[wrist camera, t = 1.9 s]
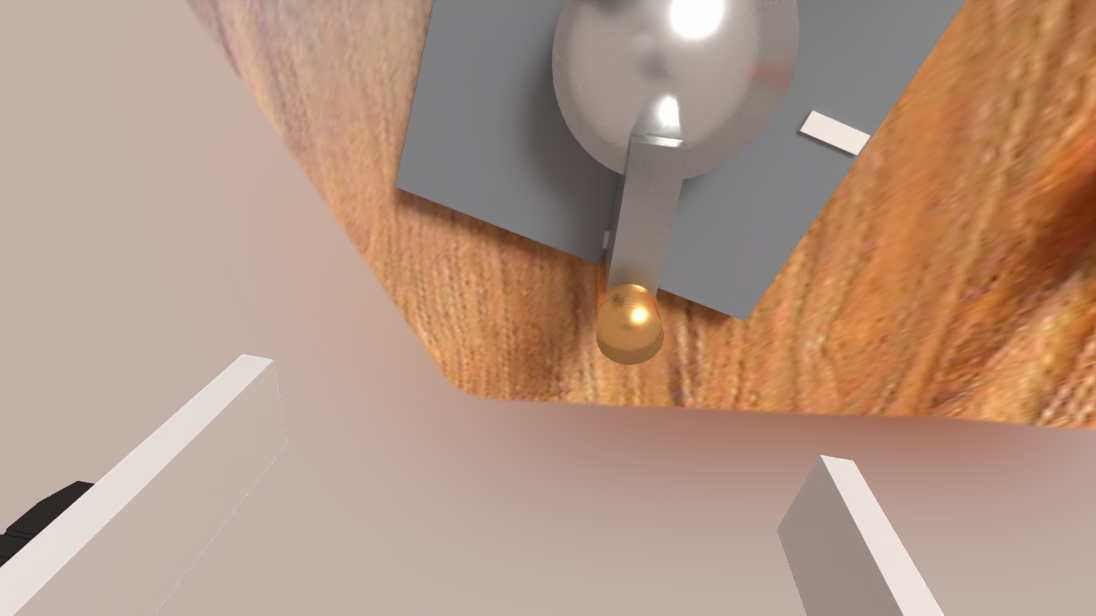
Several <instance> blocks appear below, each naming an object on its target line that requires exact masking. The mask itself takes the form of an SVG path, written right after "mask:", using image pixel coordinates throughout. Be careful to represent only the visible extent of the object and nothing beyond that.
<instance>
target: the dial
mask: <svg viewBox="0 0 1096 616" xmlns="http://www.w3.org/2000/svg"><path fill="white" fill-rule="evenodd" d="M798 44H799V16H798V8H797V2H796V0H565V2H564V4H563V7H562V10H561V12H560V15H559V19H558V22H557V26H556V30H555V35H554V42H553V49H552V73H553V84H554V88H555V93H556V98H557V101H558V104H559V107H560V110H561V113H562V115H563V117H564V119H565V121H566V124H567V126H568V128H569V129H570V131H571V132H572V134H573V135H574V137H575V138H576V140H577V141H578V142H579V143H580V145H581V146H582V147H583V148H584V149H585V150H586V151H587V152H588V153H589V154H590V155H591V156H592V157H593V158H595V159H596V160H597V161H598V162H600V163H601V164H603V165H604V166H606V167H607V168H609V169H611V170H613V171H615V172H617V173H619V176H618V182H617V188H616V194H615V200H614V206H613V212H612V218H611V224H610V230H609V236H608V242H607V248H606V254H605V255H604V256H603V257H602V259H601V260H600V263H599V266H598V291H597V343H598V346H599V348H600V350H601V352H602V353H603V354H604V355H605V356H606V357H607V358H609V359H610V360H612V361H614V362H617V363H620V364H627V365H633V364H639V363H642V362H645V361H647V360H649V359H651V358H652V357H653V356H655V355H656V354H657V352H658V351H659V350H660V348H661V346H662V344H663V339H664V333H663V328H662V323H661V318H660V313H659V308H658V303H657V298H656V294H657V290H658V285H659V281H660V277H661V272H662V268H663V264H664V259H665V255H666V251H667V246H668V242H669V238H670V233H671V229H672V225H673V220H674V216H675V212H676V208H677V203H678V199H679V195H680V190H681V186H682V182H683V179H688V178H692V177H695V176H698V175H701V174H704V173H707V172H709V171H711V170H713V169H715V168H717V167H719V166H721V165H723V164H724V163H726V162H727V161H729V160H731V159H732V158H734V157H735V156H736V155H737V154H739V153H740V152H741V151H743V150H744V149H745V148H746V147H747V146H748V145H749V144H750V143H751V142H752V141H753V140H754V139H755V138H756V137H757V136H758V135H759V134H760V133H761V131H762V130H763V129H764V128H765V127H766V125H767V124H768V123H769V121H770V120H771V118H772V117H773V115H774V114H775V112H776V111H777V109H778V107H779V105H780V103H781V101H782V99H783V97H784V95H785V93H786V91H787V88H788V86H789V83H790V80H791V78H792V75H793V71H794V67H795V63H796V59H797V51H798Z"/></svg>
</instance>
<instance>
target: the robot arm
mask: <svg viewBox="0 0 1096 616" xmlns="http://www.w3.org/2000/svg"><path fill="white" fill-rule="evenodd" d="M287 444H288V439H287V433H286V428H285V422H284V416H283V411H282V405H281V399H280V393H279V388H278V382H277V376H276V370H275V365H274V360H272V359H267V358H261V357H255V356H249V355H244V354H243V355H241V356H240V357H239V358H238V359H237V360H235V361H234V362H233V363H232V364H231V365H230V366H229V367H228V368H226V369H225V370H224V371H223V372H222V373H221V374H219V375H218V377H216V378H215V379H214V380H213V381H212V382H210V383H209V384H208V385H207V386H206V387H205V388H204V389H202V390H201V391H200V392H199V393H198V394H197V395H196V396H195V397H193V398H192V400H190V401H189V402H188V403H187V404H185V405H184V406H183V407H182V408H181V409H180V410H179V411H178V412H176V413H175V414H174V415H173V416H172V417H171V418H170V419H168V420H167V421H166V422H165V423H164V424H163V425H162V426H161V427H159V428H158V429H157V430H156V431H155V432H154V433H153V434H151V435H150V436H149V437H148V438H147V439H146V440H145V441H144V442H142V443H141V444H140V445H139V446H138V447H137V448H136V449H134V450H133V451H132V452H131V453H130V454H129V455H128V456H127V457H125V458H124V459H123V460H122V461H121V462H120V463H119V464H117V465H116V466H115V467H114V468H113V469H112V470H111V471H109V472H108V473H107V474H106V475H105V476H104V477H103V478H102V479H100V480H99V481H98V482H97V483H96V484H92V483H87V482H81V481H76V482H75V483H73V484H71V485H69V486H67V487H65V488H64V489H62V490H60V491H58V492H57V493H54V494H53V495H51V496H49V497H47V498H45V499H44V500H42V501H40V502H39V503H37V504H36V505H35V506H34V507H33V508H31V509H30V510H29V511H28V512H26V513H25V514H24V515H23V516H21V517H20V518H19V519H18V520H17V521H15V522H14V523H13V524H12V525H11V526H9V527H8V528H7V529H6V532H5V533H4V534H3V535H0V616H154V615H155V614H156V613H157V611H158V610H159V609H160V608H161V607H162V605H163V604H164V603H165V601H166V600H167V599H168V597H169V596H170V595H171V594H172V592H173V591H174V590H175V588H176V587H177V586H178V585H179V583H180V582H181V581H182V579H183V578H184V577H185V575H186V574H187V573H188V571H189V570H190V569H191V568H192V567H193V565H194V564H195V563H196V561H197V560H198V559H199V557H200V556H201V555H202V554H203V552H204V551H205V550H206V548H207V547H208V546H209V545H210V543H211V542H212V540H213V539H214V538H215V537H216V536H217V534H218V533H219V531H220V530H221V529H222V528H223V526H224V525H225V524H226V522H227V521H228V520H229V519H230V517H231V516H232V515H233V514H234V512H235V511H236V510H237V508H238V507H239V506H240V504H241V503H242V502H243V501H244V499H245V498H246V497H247V495H248V494H249V493H250V492H251V490H252V489H253V488H254V486H255V485H256V484H257V483H258V481H259V480H260V479H261V477H262V476H263V475H264V474H265V472H266V471H267V469H268V468H269V467H270V466H271V464H272V463H273V462H274V461H275V459H276V458H277V457H278V455H279V454H280V453H281V452H282V450H283V449H284V448H285V446H286V445H287ZM777 531H778V534H779V537H780V540H781V543H782V546H783V548H784V551H785V554H786V557H787V560H788V563H789V566H790V568H791V571H792V574H793V577H794V580H795V582H796V585H797V588H798V591H799V594H800V597H801V600H802V602H803V605H804V608H805V611H806V614H807V616H944V615H943V613H942V611H941V609H940V608H939V607H938V604H937V603H936V601H935V599H934V598H933V596H932V594H931V593H930V591H929V589H928V587H927V586H926V584H925V582H924V581H923V579H922V577H921V575H920V574H919V572H918V570H917V569H916V567H915V565H914V564H913V562H912V560H911V558H910V557H909V555H908V553H907V552H906V550H905V548H904V547H903V545H902V543H901V542H900V540H899V538H898V536H897V535H896V533H895V531H894V530H893V528H892V526H891V524H890V523H889V521H888V520H887V518H886V516H885V514H884V513H883V511H882V509H881V508H880V506H879V504H878V502H877V501H876V499H875V497H874V496H873V494H872V492H871V491H870V489H869V487H868V485H867V484H866V482H865V480H864V479H863V477H862V475H861V474H860V472H859V470H858V468H857V467H856V465H855V463H854V462H853V461H852V460H845V459H840V458H834V457H828V456H823V455H820V457H819V458H818V460H817V462H816V464H815V465H814V467H813V469H812V470H811V472H810V474H809V475H808V477H807V479H806V481H805V483H804V484H803V486H802V487H801V489H800V491H799V493H798V494H797V496H796V498H795V499H794V501H793V503H792V505H791V506H790V508H789V510H788V511H787V513H786V515H785V517H784V519H783V520H782V522H781V524H780V525H779V527H778V529H777Z"/></svg>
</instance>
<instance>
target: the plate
mask: <svg viewBox="0 0 1096 616" xmlns="http://www.w3.org/2000/svg"><path fill="white" fill-rule="evenodd" d="M564 2H565V0H434V3H433V8H432V13H431V18H430V23H429V27H428V32H427V37H426V42H425V47H424V51H423V56H422V61H421V66H420V71H419V75H418V80H417V85H416V90H415V94H414V99H413V104H412V109H411V114H410V118H409V123H408V128H407V133H406V138H405V142H404V147H403V152H402V157H401V162H400V166H399V171H398V176H397V181H396V186H395V187H397V188H399V189H402V190H405V191H407V192H410V193H412V194H415V195H418V196H420V197H423V198H425V199H428V200H431V201H433V202H436V203H438V204H441V205H444V206H446V207H449V208H451V209H454V210H457V211H459V212H462V213H464V214H467V215H470V216H472V217H475V218H477V219H480V220H483V221H485V222H488V223H490V224H493V225H496V226H498V227H501V228H503V229H506V230H509V231H511V232H514V233H516V234H519V235H522V236H524V237H527V238H529V239H532V240H535V241H537V242H540V243H542V244H545V245H548V246H550V247H553V248H555V249H558V250H561V251H563V252H566V253H568V254H571V255H574V256H576V257H579V258H581V259H584V260H587V261H589V262H592V263H594V264H597V265H599V263H600V260H601V259H602V257H603V256H604V255H605V254H606V248H607V242H608V236H609V230H610V224H611V218H612V212H613V206H614V200H615V194H616V188H617V182H618V176H619V173H617V172H615V171H613V170H611V169H609V168H607V167H606V166H604V165H603V164H601V163H600V162H598V161H597V160H596V159H595V158H593V157H592V156H591V155H590V154H589V153H588V152H587V151H586V150H585V149H584V148H583V147H582V146H581V145H580V143H579V142H578V141H577V140H576V138H575V137H574V135H573V134H572V132H571V131H570V129H569V128H568V126H567V124H566V121H565V119H564V117H563V115H562V113H561V110H560V107H559V104H558V101H557V98H556V93H555V88H554V84H553V73H552V49H553V42H554V35H555V30H556V26H557V22H558V19H559V15H560V12H561V10H562V7H563V4H564ZM796 2H797V8H798V16H799V44H798V51H797V59H796V63H795V67H794V71H793V75H792V78H791V80H790V83H789V86H788V88H787V91H786V93H785V95H784V97H783V99H782V101H781V103H780V105H779V107H778V109H777V111H776V112H775V114H774V115H773V117H772V118H771V120H770V121H769V123H768V124H767V125H766V127H765V128H764V129H763V130H762V131H761V133H760V134H759V135H758V136H757V137H756V138H755V139H754V140H753V141H752V142H751V143H750V144H749V145H748V146H747V147H746V148H745V149H744V150H743V151H741V152H740V153H739V154H737V155H736V156H735V157H734V158H732V159H731V160H729V161H727V162H726V163H724V164H723V165H721V166H719V167H717V168H715V169H713V170H711V171H709V172H707V173H704V174H701V175H698V176H695V177H692V178H688V179H683V182H682V186H681V190H680V195H679V199H678V203H677V208H676V212H675V216H674V220H673V225H672V229H671V233H670V238H669V242H668V246H667V251H666V255H665V259H664V264H663V268H662V272H661V277H660V281H659V285H658V288H659V289H662V290H665V291H667V292H670V293H672V294H675V295H678V296H680V297H683V298H686V299H688V300H691V301H693V302H696V303H699V304H701V305H704V306H706V307H709V308H712V309H714V310H717V311H719V312H722V313H725V314H727V315H730V316H732V317H735V318H738V319H740V320H743V321H745V320H746V319H747V317H748V316H749V314H750V313H751V312H752V310H753V309H754V307H755V306H756V304H757V303H758V301H759V300H760V299H761V297H762V296H763V294H764V293H765V291H766V290H767V288H768V287H769V286H770V284H771V283H772V281H773V280H774V278H775V277H776V275H777V274H778V272H779V271H780V270H781V268H782V267H783V265H784V264H785V262H786V261H787V259H788V258H789V257H790V255H791V254H792V252H793V251H794V249H795V248H796V246H797V245H798V244H799V242H800V241H801V239H802V238H803V236H804V235H805V233H806V232H807V231H808V229H809V228H810V226H811V225H812V223H813V222H814V220H815V219H816V217H817V216H818V215H819V213H820V212H821V210H822V209H823V207H824V206H825V204H826V203H827V202H828V200H829V199H830V197H831V196H832V194H833V193H834V191H835V190H836V189H837V187H838V186H839V184H840V183H841V181H842V180H843V178H844V177H845V176H846V174H847V173H848V171H849V170H850V168H851V167H852V165H853V164H854V162H855V161H856V160H857V158H858V157H859V155H860V154H861V152H862V151H863V149H864V148H865V147H866V145H867V144H868V142H869V141H870V139H871V138H872V136H873V135H874V134H875V132H876V131H877V129H878V128H879V126H880V125H881V123H882V122H883V121H884V119H885V118H886V116H887V115H888V113H889V112H890V110H891V109H892V107H893V106H894V105H895V103H896V102H897V100H898V99H899V97H900V96H901V94H902V93H903V92H904V90H905V89H906V87H907V86H908V84H909V83H910V81H911V80H912V79H913V77H914V76H915V74H916V73H917V71H918V70H919V68H920V67H921V66H922V64H923V63H924V61H925V60H926V58H927V57H928V55H929V54H930V52H931V51H932V50H933V48H934V47H935V45H936V44H937V42H938V41H939V39H940V38H941V37H942V35H943V34H944V32H945V31H946V29H947V28H948V26H949V25H950V24H951V22H952V21H953V19H954V18H955V16H956V15H957V13H958V12H959V11H960V9H961V8H962V6H963V5H964V3H965V2H966V0H796Z"/></svg>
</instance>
